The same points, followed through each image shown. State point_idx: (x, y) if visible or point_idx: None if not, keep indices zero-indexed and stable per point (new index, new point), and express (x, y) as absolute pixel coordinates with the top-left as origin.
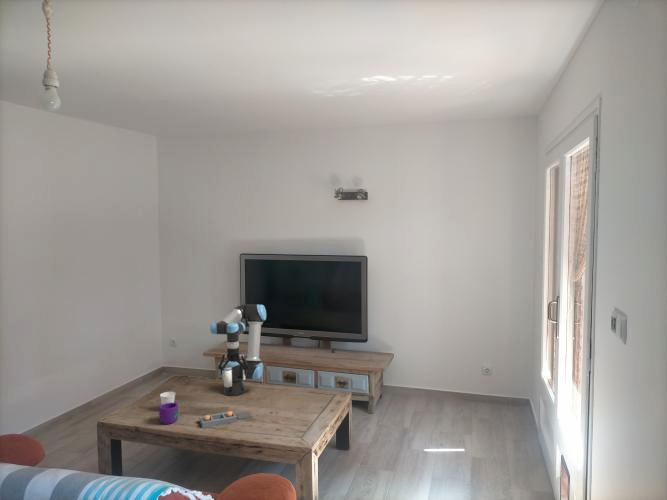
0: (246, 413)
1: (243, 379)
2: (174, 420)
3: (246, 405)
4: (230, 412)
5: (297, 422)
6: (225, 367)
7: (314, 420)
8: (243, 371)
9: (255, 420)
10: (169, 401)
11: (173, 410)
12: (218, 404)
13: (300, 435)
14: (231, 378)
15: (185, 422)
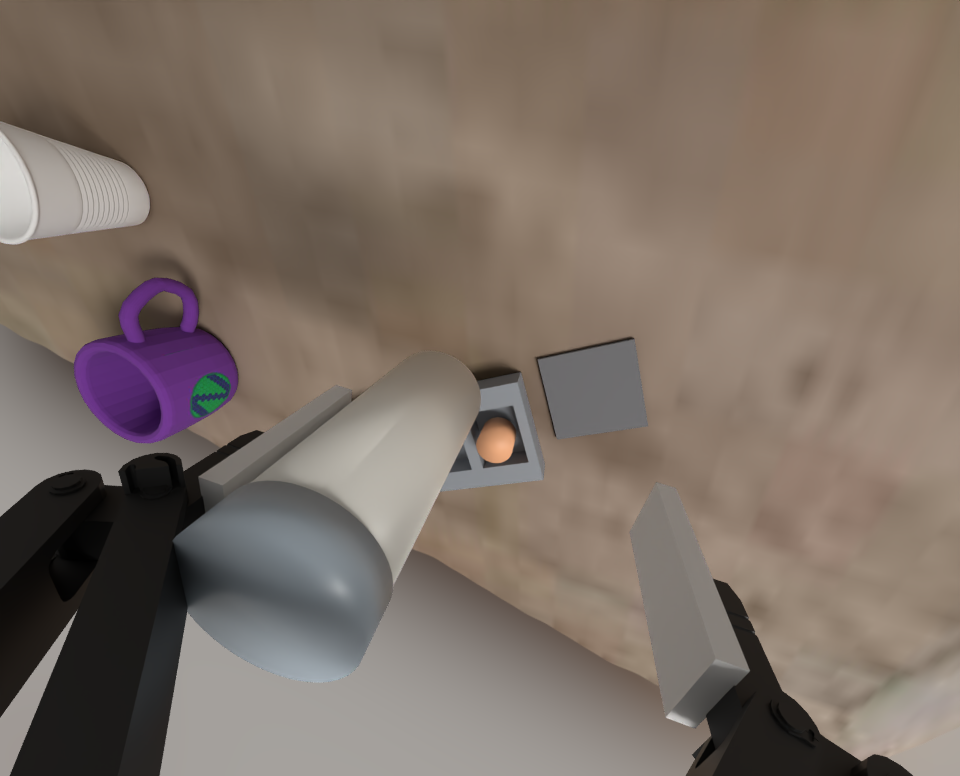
0: (612, 369)
1: (636, 541)
2: (229, 398)
3: (634, 181)
4: (502, 453)
5: (920, 575)
6: (218, 610)
7: None
8: (672, 690)
9: (655, 476)
10: (72, 231)
11: (177, 430)
12: (407, 116)
13: (849, 695)
14: (448, 473)
15: (286, 400)
